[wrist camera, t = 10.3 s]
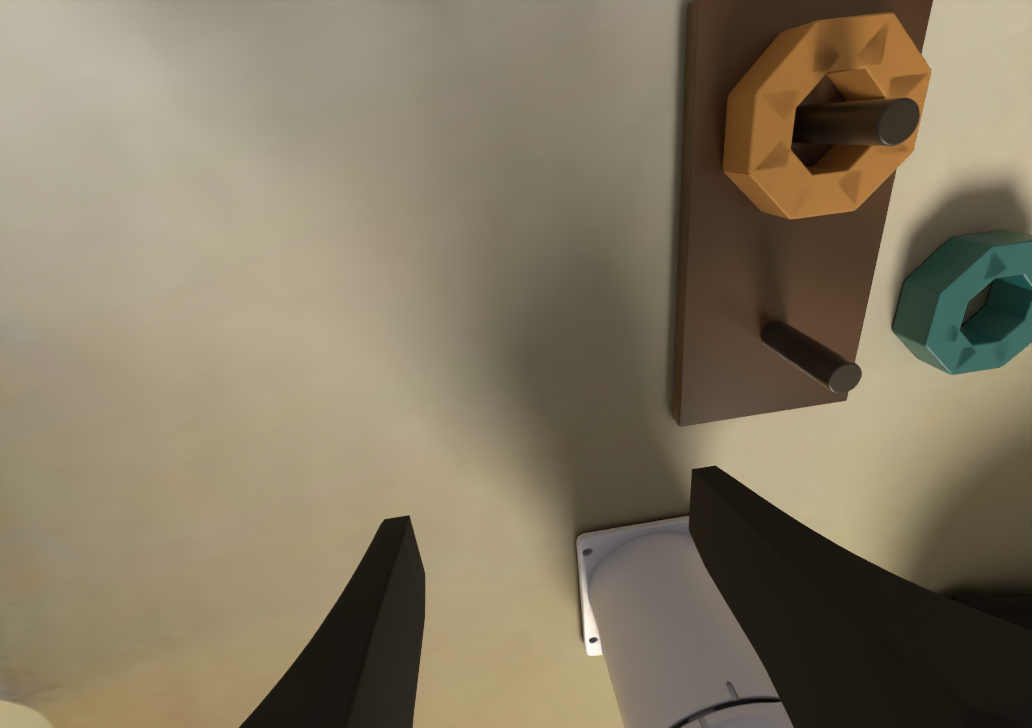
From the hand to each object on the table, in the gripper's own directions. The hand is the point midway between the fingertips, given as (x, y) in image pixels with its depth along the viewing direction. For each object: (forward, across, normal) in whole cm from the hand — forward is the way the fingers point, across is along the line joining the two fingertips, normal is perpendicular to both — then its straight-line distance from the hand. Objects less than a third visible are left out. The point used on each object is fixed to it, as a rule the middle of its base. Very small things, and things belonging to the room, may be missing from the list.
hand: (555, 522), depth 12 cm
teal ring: (+9, -20, 0) cm, 22 cm away
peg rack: (+9, -11, -4) cm, 15 cm away
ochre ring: (+9, -11, -8) cm, 16 cm away
